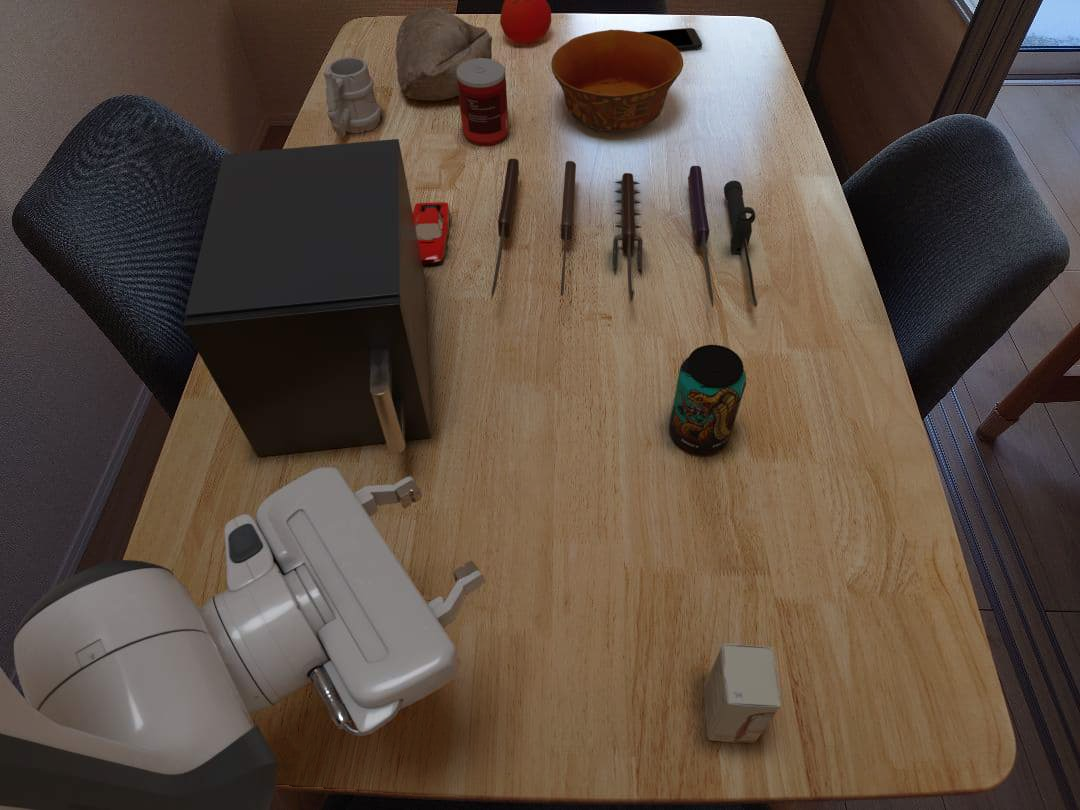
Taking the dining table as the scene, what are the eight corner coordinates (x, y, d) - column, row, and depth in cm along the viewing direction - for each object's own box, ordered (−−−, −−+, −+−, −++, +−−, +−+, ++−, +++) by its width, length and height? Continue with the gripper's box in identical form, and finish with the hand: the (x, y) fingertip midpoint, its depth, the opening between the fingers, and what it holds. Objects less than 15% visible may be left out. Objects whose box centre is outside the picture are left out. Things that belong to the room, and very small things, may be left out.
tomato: (560, 33, 147) (560, -12, 141) (531, 56, 142) (529, 10, 135) (520, 22, 150) (518, -23, 144) (490, 44, 145) (487, -2, 139)
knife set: (486, 328, 97) (483, 281, 91) (509, 183, 119) (508, 138, 113) (761, 341, 96) (776, 295, 90) (734, 192, 117) (744, 147, 111)
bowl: (526, 122, 129) (524, 65, 121) (602, 70, 138) (604, 15, 130) (626, 167, 120) (631, 109, 112) (699, 109, 130) (708, 52, 122)
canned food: (489, 115, 130) (484, 52, 121) (518, 135, 126) (515, 71, 118) (453, 132, 127) (445, 68, 118) (482, 152, 123) (476, 89, 115)
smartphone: (617, 36, 146) (617, 32, 145) (693, 30, 147) (694, 26, 146) (624, 56, 141) (624, 51, 140) (703, 49, 142) (703, 45, 141)
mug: (389, 112, 131) (376, 44, 122) (360, 151, 124) (343, 81, 115) (349, 106, 133) (333, 38, 123) (318, 144, 126) (298, 75, 116)
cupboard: (430, 430, 89) (399, 293, 72) (258, 448, 88) (184, 314, 71) (425, 280, 105) (398, 138, 88) (279, 294, 104) (223, 153, 86)
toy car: (446, 266, 106) (443, 249, 104) (409, 267, 107) (405, 250, 104) (450, 213, 114) (448, 195, 111) (416, 214, 114) (413, 196, 111)
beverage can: (693, 467, 85) (709, 401, 76) (656, 424, 89) (667, 356, 79) (742, 440, 87) (764, 372, 78) (704, 399, 91) (720, 330, 81)
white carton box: (756, 744, 67) (782, 711, 59) (706, 741, 67) (725, 707, 59) (750, 685, 70) (774, 645, 62) (702, 682, 70) (720, 642, 62)
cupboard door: (432, 480, 85) (400, 350, 67) (251, 501, 83) (171, 373, 66) (430, 431, 89) (399, 296, 72) (258, 449, 88) (184, 317, 71)
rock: (514, 27, 132) (445, -27, 122) (492, 114, 130) (420, 67, 120) (462, 53, 144) (396, 7, 134) (441, 134, 142) (372, 93, 132)
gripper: (336, 736, 47) (519, 611, 52) (217, 506, 58) (379, 421, 62) (357, 762, 52) (523, 646, 57) (244, 546, 62) (392, 464, 67)
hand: (446, 527), depth 60 cm, fingers open, 8 cm apart
